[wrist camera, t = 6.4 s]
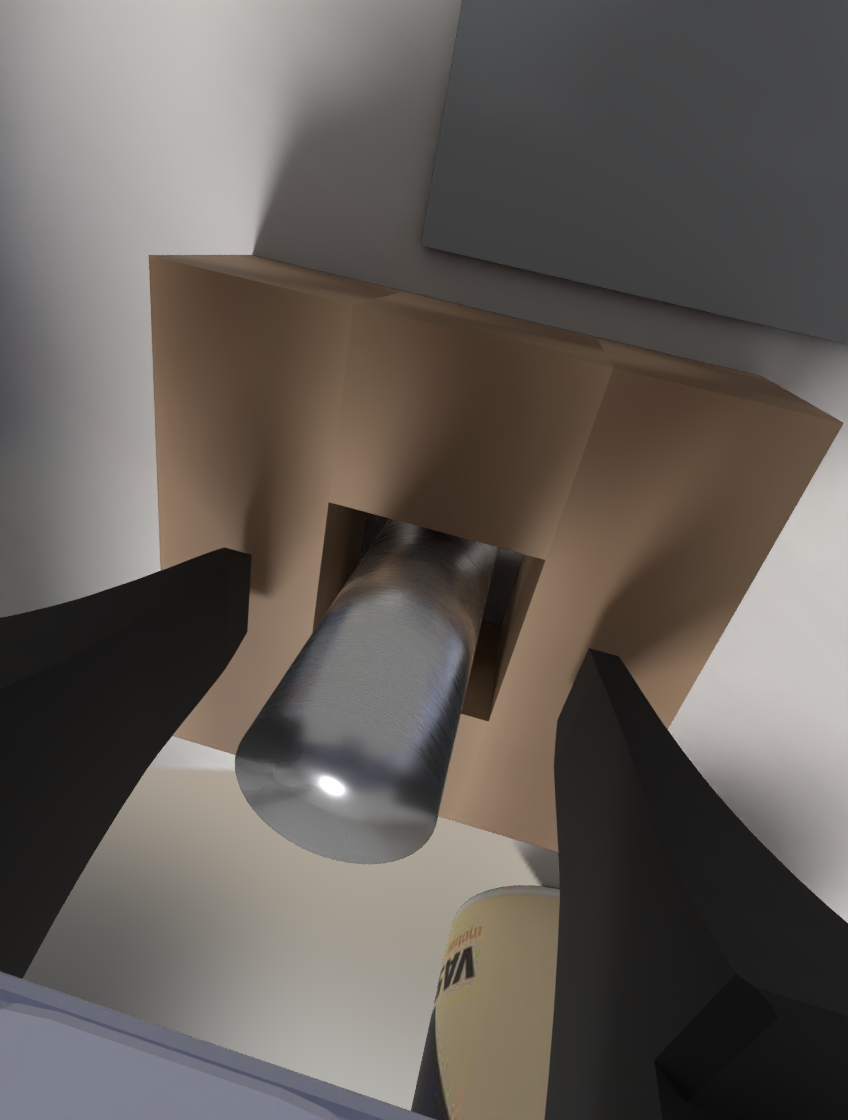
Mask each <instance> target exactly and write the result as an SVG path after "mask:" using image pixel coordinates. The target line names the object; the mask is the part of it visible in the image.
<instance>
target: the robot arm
mask: <svg viewBox="0 0 848 1120" xmlns="http://www.w3.org/2000/svg"><path fill="white" fill-rule="evenodd" d="M251 559H252V555H251V554H247V553H243V552H240V551H236V550H232V549H229V548H225V547H224V548H221V549H217V550H214V551H211V552H209V553H206V554H203V555H200V556H198V557H195V558H193V559H190V560H187V561H185V562H182V563H180V564H177V565H174V566H172V567H169V568H167V569H164V570H161V571H159V572H156V573H153V574H151V575H148V576H145V577H143V578H140V579H137V580H135V581H132V582H129V583H126V584H123V585H120V586H117V587H114V588H111V589H108V590H105V591H102V592H99V593H96V594H93V595H90V596H87V597H83V598H80V599H76V600H73V601H69V602H66V603H62V604H59V605H55V606H51V607H47V608H43V609H39V610H35V611H31V612H27V613H22V614H18V615H13V616H8V617H3V618H0V1120H436V1119H433V1118H430V1117H427V1116H424V1115H421V1114H418V1113H415V1112H412V1111H409V1110H406V1109H403V1108H400V1107H397V1106H394V1105H391V1104H389V1103H385V1102H383V1101H380V1100H377V1099H374V1098H371V1097H368V1096H365V1095H362V1094H359V1093H356V1092H353V1091H350V1090H347V1089H344V1088H341V1087H338V1086H336V1085H333V1084H329V1083H327V1082H324V1081H320V1080H318V1079H315V1078H312V1077H309V1076H306V1075H303V1074H300V1073H297V1072H294V1071H292V1070H289V1069H286V1068H282V1067H279V1066H276V1065H274V1064H271V1063H268V1062H265V1061H262V1060H259V1059H256V1058H253V1057H250V1056H247V1055H244V1054H242V1053H239V1052H236V1051H233V1050H230V1049H227V1048H224V1047H221V1046H218V1045H215V1044H212V1043H209V1042H206V1041H203V1040H200V1039H197V1038H194V1037H192V1036H189V1035H186V1034H183V1033H180V1032H177V1031H174V1030H171V1029H168V1028H165V1027H162V1026H159V1025H156V1024H153V1023H150V1022H147V1021H144V1020H141V1019H138V1018H136V1017H133V1016H129V1015H127V1014H124V1013H121V1012H118V1011H115V1010H112V1009H109V1008H106V1007H103V1006H100V1005H97V1004H94V1003H92V1002H89V1001H86V1000H83V999H80V998H77V997H74V996H71V995H68V994H65V993H62V992H59V991H56V990H53V989H50V988H47V987H45V986H41V985H39V984H36V983H33V982H30V981H27V980H24V979H22V978H23V976H24V975H25V973H26V971H27V969H28V967H29V965H30V964H31V962H32V960H33V958H34V956H35V955H36V953H37V951H38V949H39V947H40V945H41V944H42V942H43V940H44V938H45V936H46V935H47V933H48V931H49V929H50V927H51V925H52V924H53V922H54V920H55V918H56V916H57V915H58V913H59V911H60V909H61V908H62V906H63V904H64V903H65V901H66V899H67V897H68V896H69V894H70V892H71V890H72V889H73V887H74V885H75V883H76V882H77V880H78V878H79V876H80V875H81V873H82V872H83V870H84V868H85V866H86V865H87V863H88V861H89V859H90V858H91V856H92V855H93V853H94V851H95V850H96V848H97V847H98V845H99V843H100V842H101V840H102V838H103V837H104V835H105V833H106V832H107V830H108V829H109V827H110V825H111V824H112V822H113V821H114V819H115V817H116V816H117V814H118V812H119V811H120V809H121V808H122V806H123V805H124V803H125V802H126V800H127V799H128V797H129V795H130V794H131V792H132V791H133V789H134V788H135V786H136V785H137V783H138V782H139V780H140V779H141V777H142V775H143V774H144V772H145V771H146V769H147V768H148V767H149V765H150V764H151V763H152V761H153V760H154V758H155V757H156V756H157V754H158V753H159V752H160V750H161V749H162V748H163V747H164V745H165V744H166V743H167V742H168V740H169V739H170V738H171V737H172V735H173V734H174V733H175V732H176V731H177V729H178V728H179V727H180V726H181V724H182V723H183V722H184V721H185V719H186V718H187V717H188V716H189V714H190V713H191V712H192V711H193V709H194V708H195V707H196V706H197V705H198V703H199V702H200V701H201V700H202V698H203V697H204V696H205V695H206V693H207V692H208V691H209V689H210V688H211V687H212V686H213V684H214V683H215V682H216V681H217V679H218V678H219V677H220V676H221V674H222V673H223V672H224V670H225V669H226V667H227V666H228V664H229V662H230V661H231V659H232V658H233V656H234V654H235V653H236V651H237V649H238V648H239V646H240V644H241V642H242V641H243V639H244V637H245V635H246V634H247V632H248V614H249V595H250V577H251ZM554 782H555V802H556V819H557V837H558V854H559V871H560V905H559V928H558V950H557V967H556V983H555V999H554V1014H553V1027H552V1039H551V1052H550V1065H549V1077H548V1088H547V1098H546V1108H545V1118H544V1120H848V923H847V922H846V921H844V920H843V919H842V918H841V917H840V916H839V915H837V914H836V913H835V912H834V911H833V910H832V909H831V908H829V907H828V906H827V905H826V904H825V903H824V902H823V901H822V900H820V899H819V898H818V897H817V896H816V895H815V894H814V893H813V892H812V891H811V890H809V889H808V888H807V887H806V886H805V885H804V884H803V883H802V882H801V881H800V880H799V879H798V878H797V877H795V876H794V875H793V874H792V873H791V872H790V871H789V870H788V869H787V868H786V867H785V866H784V865H783V864H782V863H781V862H780V861H779V860H778V859H777V858H776V857H775V856H774V855H773V854H772V853H771V852H770V851H769V850H768V849H767V848H766V847H765V846H764V845H763V844H762V843H761V842H760V841H759V840H758V839H757V838H756V837H755V836H754V835H753V834H752V833H751V832H750V831H749V829H748V828H747V827H746V826H745V825H744V824H743V823H742V822H741V821H740V820H739V818H738V817H737V816H736V815H735V814H734V813H733V812H732V811H731V809H730V808H729V807H728V806H727V805H726V804H725V803H724V802H723V800H722V799H721V798H720V797H719V796H718V795H717V794H716V792H715V791H714V790H713V789H712V788H711V786H710V785H709V784H708V783H707V782H706V780H705V779H704V778H703V777H702V775H701V774H700V773H699V771H698V770H697V769H696V767H695V766H694V765H693V764H692V762H691V761H690V760H689V758H688V757H687V756H686V755H685V753H684V752H683V751H682V749H681V748H680V746H679V745H678V744H677V742H676V741H675V740H674V738H673V737H672V735H671V734H670V733H669V731H668V730H667V728H666V727H665V725H664V724H663V722H662V721H661V720H660V718H659V717H658V715H657V714H656V712H655V711H654V709H653V708H652V706H651V705H650V703H649V702H648V700H647V698H646V697H645V695H644V694H643V692H642V691H641V689H640V688H639V686H638V685H637V683H636V681H635V680H634V678H633V677H632V675H631V674H630V672H629V671H628V669H627V667H626V666H625V664H624V663H623V662H622V660H621V659H620V657H619V656H616V655H613V654H609V653H605V652H602V651H598V650H594V649H591V648H589V649H588V651H587V653H586V656H585V658H584V660H583V663H582V665H581V667H580V669H579V672H578V674H577V676H576V679H575V681H574V683H573V685H572V688H571V690H570V692H569V695H568V697H567V699H566V702H565V704H564V706H563V708H562V711H561V713H560V715H559V718H558V720H557V729H556V741H555V754H554Z"/></svg>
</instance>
